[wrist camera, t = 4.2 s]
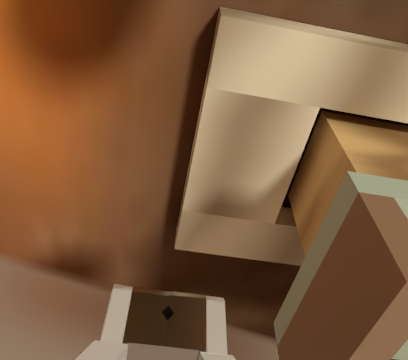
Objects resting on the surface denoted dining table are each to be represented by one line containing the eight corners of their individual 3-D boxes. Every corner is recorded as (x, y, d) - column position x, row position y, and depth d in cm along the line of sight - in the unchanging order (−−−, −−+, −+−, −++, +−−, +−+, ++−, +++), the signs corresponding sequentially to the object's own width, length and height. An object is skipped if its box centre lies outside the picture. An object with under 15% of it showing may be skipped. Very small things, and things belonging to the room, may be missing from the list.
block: (422, 128, 18) (502, 210, 13) (375, 208, 21) (427, 300, 16) (321, 110, 18) (365, 188, 13) (287, 195, 20) (313, 285, 16)
